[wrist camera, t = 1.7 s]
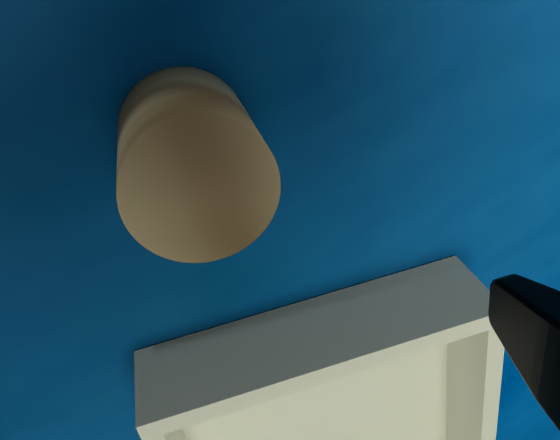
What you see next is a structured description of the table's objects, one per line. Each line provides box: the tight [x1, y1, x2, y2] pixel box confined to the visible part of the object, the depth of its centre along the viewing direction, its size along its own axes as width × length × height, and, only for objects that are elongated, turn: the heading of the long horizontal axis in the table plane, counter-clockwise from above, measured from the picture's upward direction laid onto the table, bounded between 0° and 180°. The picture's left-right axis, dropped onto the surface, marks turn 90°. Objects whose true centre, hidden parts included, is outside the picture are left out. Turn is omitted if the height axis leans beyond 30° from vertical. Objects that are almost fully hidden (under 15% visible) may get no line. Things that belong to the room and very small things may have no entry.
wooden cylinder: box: [116, 67, 281, 263], centre depth 16 cm, size 4×4×5 cm
